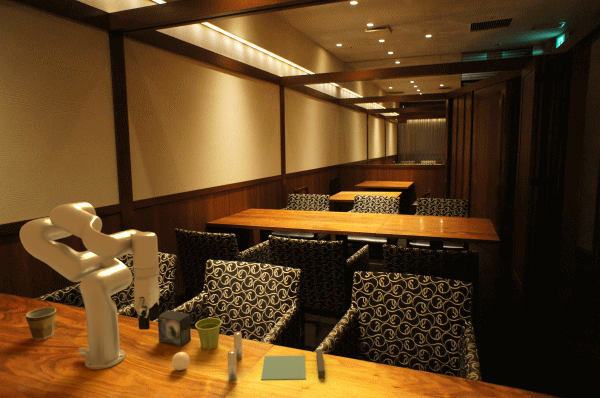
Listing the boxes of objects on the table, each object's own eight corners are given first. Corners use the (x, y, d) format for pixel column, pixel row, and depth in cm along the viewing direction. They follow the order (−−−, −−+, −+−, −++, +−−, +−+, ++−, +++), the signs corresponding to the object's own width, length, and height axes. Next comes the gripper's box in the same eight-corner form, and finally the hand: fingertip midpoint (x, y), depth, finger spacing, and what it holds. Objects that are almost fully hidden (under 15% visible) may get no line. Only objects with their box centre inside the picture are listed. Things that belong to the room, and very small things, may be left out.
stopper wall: (318, 378, 125) (318, 370, 125) (316, 356, 138) (316, 349, 138) (324, 378, 125) (324, 370, 125) (322, 356, 138) (322, 349, 138)
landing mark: (261, 379, 124) (261, 379, 124) (264, 356, 138) (264, 356, 138) (305, 379, 124) (305, 378, 124) (304, 356, 138) (304, 355, 138)
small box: (157, 342, 149) (156, 316, 148) (169, 335, 155) (168, 309, 154) (180, 347, 145) (179, 320, 144) (191, 339, 151) (190, 313, 150)
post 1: (227, 381, 124) (226, 354, 123) (229, 376, 126) (228, 350, 125) (236, 381, 124) (235, 354, 123) (237, 376, 126) (236, 350, 125)
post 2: (234, 360, 136) (233, 335, 135) (235, 356, 139) (234, 331, 138) (241, 359, 136) (240, 335, 135) (242, 356, 139) (242, 331, 138)
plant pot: (216, 353, 141) (215, 330, 140) (191, 350, 143) (190, 327, 142) (226, 340, 150) (225, 318, 149) (203, 338, 152) (202, 317, 151)
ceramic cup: (63, 334, 157) (61, 310, 155) (35, 345, 148) (33, 319, 147) (47, 327, 164) (44, 303, 162) (19, 336, 155) (17, 312, 154)
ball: (170, 373, 128) (169, 357, 128) (175, 364, 134) (174, 348, 133) (187, 373, 128) (186, 357, 128) (191, 364, 134) (191, 348, 133)
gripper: (144, 263, 135) (147, 312, 138) (123, 280, 118) (126, 335, 120) (167, 263, 136) (169, 311, 138) (148, 279, 118) (151, 335, 120)
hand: (149, 322), depth 129 cm, fingers open, 8 cm apart
